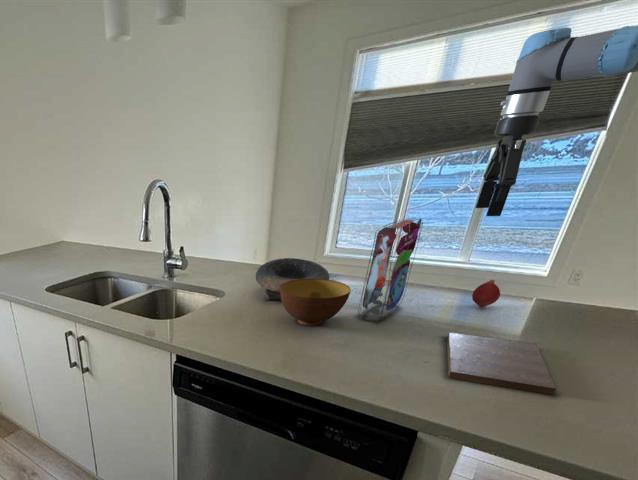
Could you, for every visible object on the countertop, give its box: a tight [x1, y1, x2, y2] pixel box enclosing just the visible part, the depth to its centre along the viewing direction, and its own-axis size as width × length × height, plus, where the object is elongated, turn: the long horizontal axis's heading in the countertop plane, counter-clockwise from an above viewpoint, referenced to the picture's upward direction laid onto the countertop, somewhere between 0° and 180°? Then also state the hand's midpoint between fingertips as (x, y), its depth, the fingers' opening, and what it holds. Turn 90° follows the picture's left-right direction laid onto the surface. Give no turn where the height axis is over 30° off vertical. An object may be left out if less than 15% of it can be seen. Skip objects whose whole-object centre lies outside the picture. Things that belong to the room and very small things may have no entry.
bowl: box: [280, 279, 351, 327], centre depth 113 cm, size 18×18×10 cm
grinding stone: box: [255, 257, 330, 301], centre depth 135 cm, size 23×25×10 cm
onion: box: [471, 279, 501, 309], centre depth 112 cm, size 6×6×8 cm
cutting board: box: [446, 332, 557, 396], centre depth 88 cm, size 22×16×2 cm
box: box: [357, 218, 424, 323], centre depth 113 cm, size 25×6×24 cm, turn 131°
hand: (487, 211), depth 106 cm, fingers open, 13 cm apart
